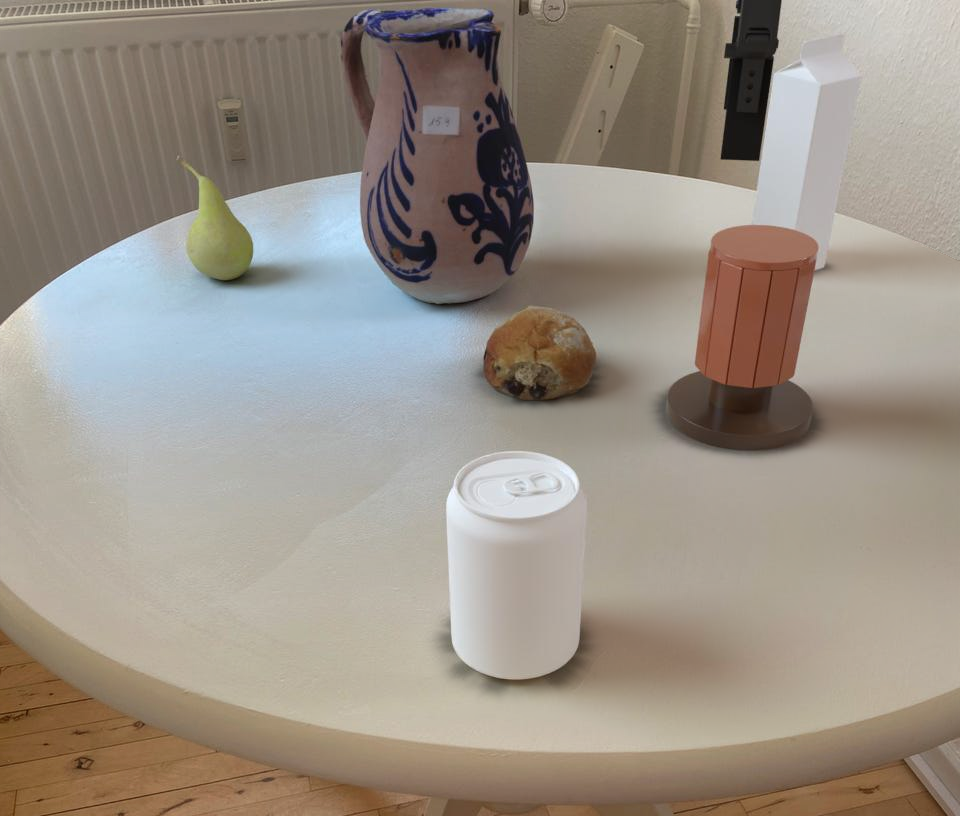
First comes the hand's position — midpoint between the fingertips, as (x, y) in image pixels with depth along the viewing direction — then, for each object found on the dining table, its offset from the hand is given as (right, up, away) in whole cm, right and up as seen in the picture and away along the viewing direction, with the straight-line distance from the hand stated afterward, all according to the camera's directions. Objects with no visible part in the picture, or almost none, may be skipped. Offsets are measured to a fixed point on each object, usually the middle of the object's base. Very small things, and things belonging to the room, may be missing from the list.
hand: (740, 132), depth 81 cm
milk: (+13, +2, +34) cm, 37 cm away
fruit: (-48, 0, +34) cm, 59 cm away
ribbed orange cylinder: (+2, -16, +6) cm, 17 cm away
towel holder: (+2, -20, +9) cm, 22 cm away
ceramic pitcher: (-25, -1, +32) cm, 40 cm away
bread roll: (-15, -15, +15) cm, 26 cm away
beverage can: (-18, -39, -13) cm, 45 cm away
